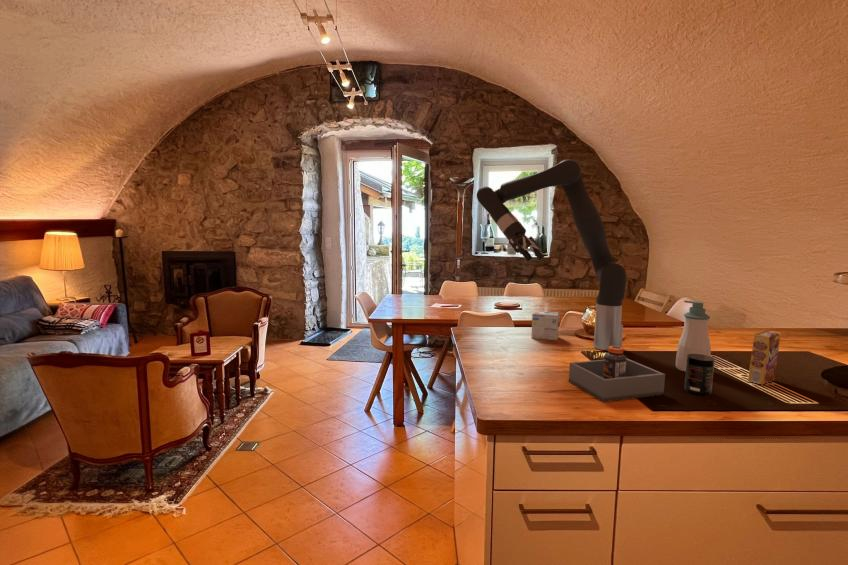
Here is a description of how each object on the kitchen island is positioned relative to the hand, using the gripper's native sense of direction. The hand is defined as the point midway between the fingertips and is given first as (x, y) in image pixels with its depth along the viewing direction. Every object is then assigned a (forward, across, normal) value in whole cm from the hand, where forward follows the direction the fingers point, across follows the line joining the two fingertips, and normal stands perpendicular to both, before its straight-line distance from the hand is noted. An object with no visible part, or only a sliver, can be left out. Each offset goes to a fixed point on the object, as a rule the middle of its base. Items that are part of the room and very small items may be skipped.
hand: (536, 259), depth 165 cm
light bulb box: (+20, +20, +29) cm, 41 cm away
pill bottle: (+50, -18, -2) cm, 53 cm away
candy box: (+72, +20, -24) cm, 79 cm away
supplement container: (+64, -4, -15) cm, 66 cm away
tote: (+51, -18, -2) cm, 54 cm away
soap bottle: (+60, +17, -11) cm, 63 cm away
